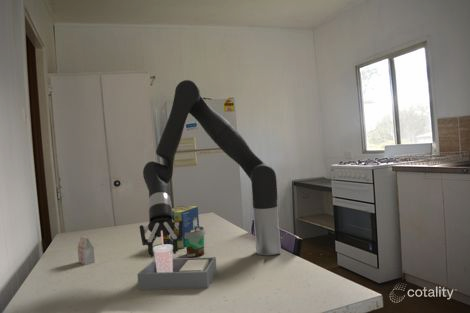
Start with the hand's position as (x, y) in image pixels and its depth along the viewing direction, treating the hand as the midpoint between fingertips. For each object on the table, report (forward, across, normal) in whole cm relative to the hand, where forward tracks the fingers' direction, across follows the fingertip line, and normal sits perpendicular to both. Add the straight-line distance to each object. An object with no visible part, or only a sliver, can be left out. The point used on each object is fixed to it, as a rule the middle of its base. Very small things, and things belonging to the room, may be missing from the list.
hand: (163, 253), depth 105 cm
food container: (-12, +13, +26) cm, 32 cm away
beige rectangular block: (+7, +9, +5) cm, 13 cm away
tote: (+7, +4, +7) cm, 11 cm away
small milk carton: (-20, -30, +34) cm, 49 cm away
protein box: (-27, +8, +42) cm, 50 cm away
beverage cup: (+4, 0, +6) cm, 8 cm away
